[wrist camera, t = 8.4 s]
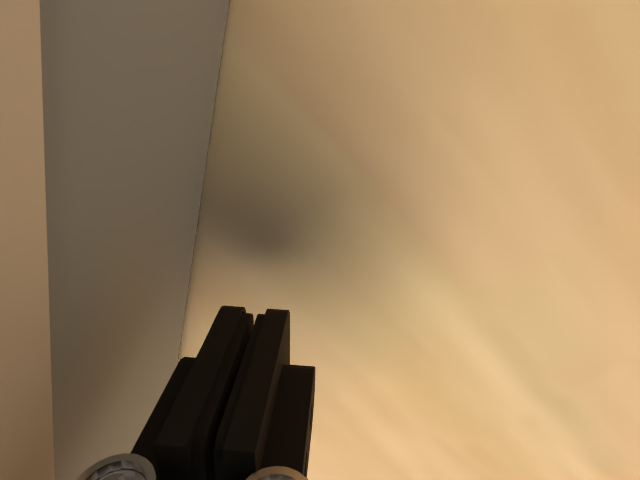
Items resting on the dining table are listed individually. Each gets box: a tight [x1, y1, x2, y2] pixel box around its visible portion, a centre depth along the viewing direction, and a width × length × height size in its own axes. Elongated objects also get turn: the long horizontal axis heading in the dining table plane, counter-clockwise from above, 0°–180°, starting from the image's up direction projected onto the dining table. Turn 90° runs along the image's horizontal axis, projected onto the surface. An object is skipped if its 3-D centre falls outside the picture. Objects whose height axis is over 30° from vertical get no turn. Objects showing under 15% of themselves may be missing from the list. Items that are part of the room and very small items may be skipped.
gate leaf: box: [0, 0, 229, 480], centre depth 10 cm, size 17×2×9 cm, turn 165°
